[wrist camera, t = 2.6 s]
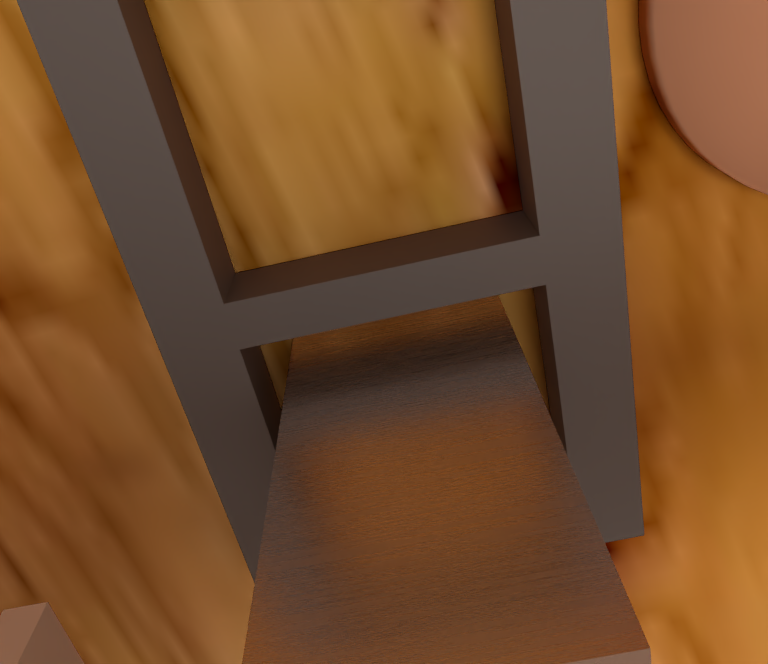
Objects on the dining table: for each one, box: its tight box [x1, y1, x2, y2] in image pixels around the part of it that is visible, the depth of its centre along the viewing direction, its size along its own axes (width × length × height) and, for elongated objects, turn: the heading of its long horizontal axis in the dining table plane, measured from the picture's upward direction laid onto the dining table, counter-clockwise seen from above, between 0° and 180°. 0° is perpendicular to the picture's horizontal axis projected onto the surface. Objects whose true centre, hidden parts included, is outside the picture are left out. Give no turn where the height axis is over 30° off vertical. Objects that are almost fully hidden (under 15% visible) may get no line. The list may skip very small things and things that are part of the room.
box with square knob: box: [242, 295, 651, 664], centre depth 13 cm, size 4×4×9 cm
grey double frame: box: [17, 0, 644, 583], centre depth 15 cm, size 9×14×2 cm, turn 12°
